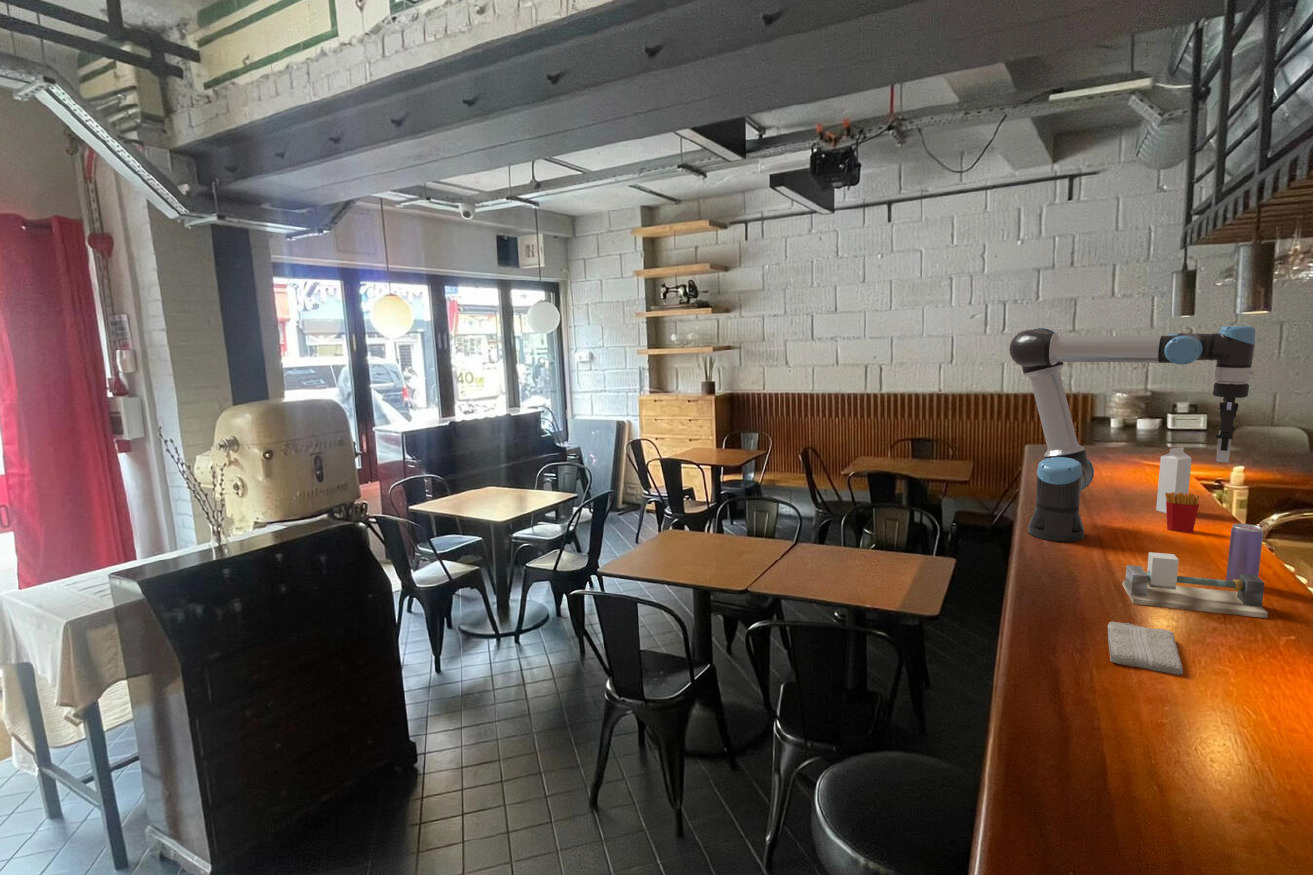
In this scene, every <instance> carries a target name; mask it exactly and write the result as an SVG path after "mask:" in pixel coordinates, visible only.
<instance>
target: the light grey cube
mask: <svg viewBox="0 0 1313 875" xmlns="http://www.w3.org/2000/svg"><path fill="white" fill-rule="evenodd" d="M1179 560H1180V559H1179V558H1178V557H1177V556H1176V555H1175V554H1174V553H1173V554H1172V553H1164V552H1163V553H1162V552H1151V551H1150V552H1148V557H1147V569H1146V570H1147V571H1146V573H1151V575H1150V580H1148V582H1147V583H1148V584H1149V586H1150V587H1154V588H1164V589H1174V590H1176V586H1177V576H1178V572H1179V571H1178V570H1179Z"/></svg>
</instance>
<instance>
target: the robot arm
mask: <svg viewBox="0 0 1313 875" xmlns="http://www.w3.org/2000/svg"><path fill="white" fill-rule="evenodd" d="M1255 341H1256V329H1255V327H1253V326H1250V325H1234V326H1233V325H1231V326H1229V325H1227V326H1222V327H1220V331H1219V332H1217V333H1194V332H1193V333H1190V332H1189V333H1184V332H1180V333H1170V334H1168V335H1099V336H1096V335H1095V336H1094V335H1093V336H1091V335H1090V336H1088V335H1087V336H1084V335H1083V336H1081V335H1080V336H1079V335H1078V336H1060V335H1059V334H1058V333H1057V332H1055V331H1054V330H1051V329H1048V328H1044V327H1043V328H1042V327H1038V328H1033V329H1025V330H1023V331H1020V332H1019V333H1017V334H1016V335H1015V336H1014V337H1013V338H1012V339H1011V342H1010V343H1009V349H1008V350H1009V351H1008V352H1009V356H1010V357H1011V359H1012V360H1013V361H1014V362H1015V363H1016V364H1018V365H1019V366H1021V370H1022V373H1023V375H1024V376H1026V377H1028V378H1029V379H1030V383H1031V388H1032V391H1033V395H1034V399H1035V402H1036V403H1035V404H1036V407H1037V411H1038V415H1039V419H1040V423H1041V427H1042V432H1043V435H1044V439H1045V443H1046V447H1047V450H1046V452H1045V453H1044V454H1043V457H1044V459H1043V460H1041V461H1040V462H1039V463H1038V465H1037V470H1036V492H1035V493H1036V497H1035V509H1034V512H1033V514H1032V516H1031V518H1030V520H1029V523H1028V524H1027V526H1028V527H1027V531H1028V534H1030V535H1031V536H1033V537H1036V538H1038V539H1042V540H1047V541H1051V542H1052V541H1053V542H1065V543H1066V542H1078V541H1081V540H1084V539H1085V527H1084V525H1083V521H1082V519H1081V515H1080V503H1081V502H1080V500H1081V492H1082V491H1083V490H1085V489H1086V488H1088V487H1089V486H1090V484H1091V483H1092V481H1093V479H1094V475H1095V470H1094V469H1095V468H1094V466H1093V463H1092V462H1091V460H1090V459H1088V457H1087V452H1086V448H1085V447H1084V446H1082V445H1080V444H1079V442H1078V438H1077V435H1076V432H1075V430H1076V429H1075V427H1074V424H1073V419H1072V415H1071V410H1070V407H1069V403H1068V400H1067V399H1068V398H1067V394H1066V389H1065V387H1064V382H1063V379H1062V375H1061V370H1062V369H1063V368H1064V366H1065V364H1064V363H1128V364H1129V363H1130V364H1131V363H1132V364H1133V363H1135V364H1136V363H1138V364H1139V363H1142V364H1143V363H1145V364H1146V363H1151V364H1153V363H1154V364H1175V365H1188V364H1191V363H1194V362H1195V361H1216V364H1215V370H1214V371H1215V372H1214V377H1213V378H1214V379H1213V380H1214V381H1215V383H1214V384H1213V391H1212V395H1213V396H1214V397H1218V398H1222V400H1223V402H1219V406H1218V407H1219V418H1220V423H1219V432H1218V434H1216V435H1215V439H1217V448H1216V459H1215V462H1218V463H1219V462H1220V463H1230V454H1231V447H1232V446H1231V445H1232V438H1233V432H1234V431H1235V427H1234V420H1235V419H1236V417H1237V412H1238V410H1239V403H1238V402H1236V399H1237V398H1238V399H1241V398H1242V399H1243V398H1247V397H1248V396H1249V390H1250V384H1249V382H1250V379H1251V375H1254V370H1252V365H1253V359H1254V352H1255V351H1254V350H1255V345H1256V342H1255Z"/></svg>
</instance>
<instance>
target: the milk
mask: <svg viewBox="0 0 1313 875" xmlns="http://www.w3.org/2000/svg"><path fill="white" fill-rule="evenodd" d="M1184 448H1185V447H1183V446H1182V447H1174V448H1170V450H1169V453H1167V454H1164V455H1161V456H1160V462H1159V473H1158V487H1157V498H1156V507H1155V511H1156V512H1160V513H1164V514H1167V513H1166V501H1167V500H1166V496H1165V493H1168V494H1169V493H1171V494H1172V492H1174V493H1175V496H1176V494H1178V492H1181V493H1183V494H1185V493H1187V494H1189V493H1190V492H1189V490H1190V489H1189V488H1190V480H1191V470H1192V457H1191V456H1190V455H1189V454H1187V453H1186V452H1184V450H1185V449H1184Z"/></svg>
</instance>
